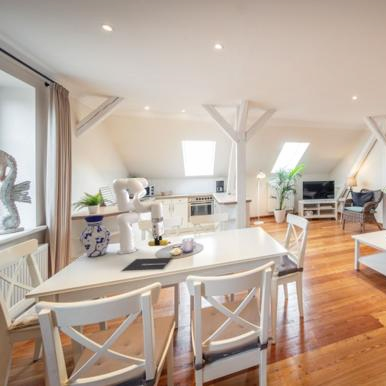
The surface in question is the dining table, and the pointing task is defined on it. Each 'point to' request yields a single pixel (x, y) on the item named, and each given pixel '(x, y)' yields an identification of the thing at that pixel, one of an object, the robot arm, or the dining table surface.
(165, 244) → the banana
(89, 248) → the vase
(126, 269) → the place mat
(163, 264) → the fork
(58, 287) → the dining table surface
